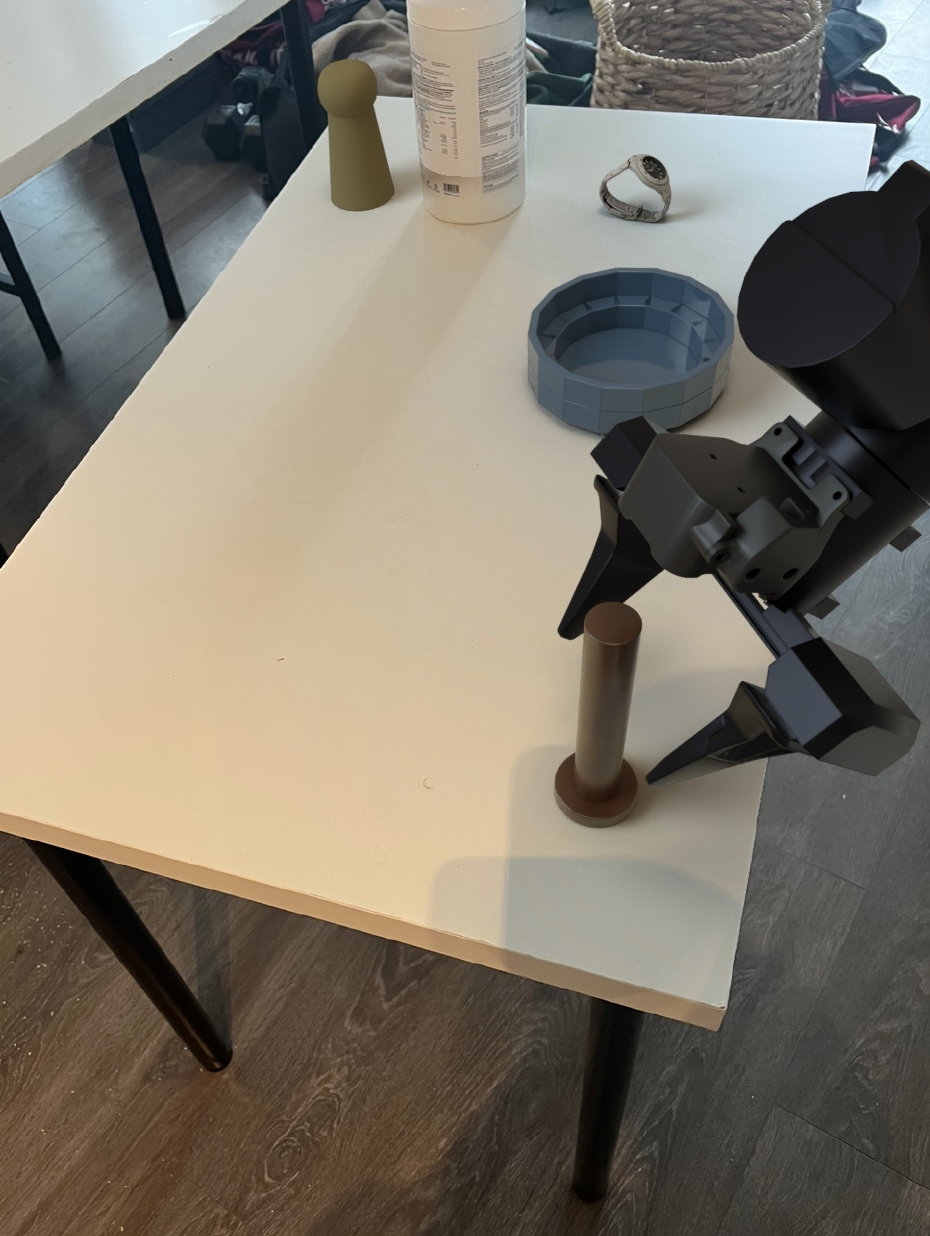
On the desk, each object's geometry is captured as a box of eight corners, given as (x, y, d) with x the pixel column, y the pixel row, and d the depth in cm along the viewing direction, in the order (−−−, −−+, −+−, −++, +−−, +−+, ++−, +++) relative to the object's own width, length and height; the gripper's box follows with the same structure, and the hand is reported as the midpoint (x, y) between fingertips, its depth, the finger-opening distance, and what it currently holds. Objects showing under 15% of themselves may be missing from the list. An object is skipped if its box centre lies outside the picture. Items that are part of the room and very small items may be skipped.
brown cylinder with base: (621, 749, 54) (645, 573, 42) (648, 817, 52) (682, 650, 40) (544, 767, 54) (548, 596, 42) (568, 836, 51) (578, 674, 40)
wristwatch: (662, 230, 83) (669, 171, 79) (593, 220, 85) (596, 162, 81) (674, 209, 85) (681, 150, 81) (606, 199, 87) (610, 141, 83)
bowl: (682, 305, 77) (689, 251, 73) (755, 416, 69) (768, 362, 65) (507, 342, 76) (506, 290, 73) (560, 459, 68) (562, 407, 64)
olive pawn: (320, 190, 93) (298, 64, 84) (377, 170, 94) (360, 43, 85) (347, 218, 90) (326, 89, 81) (405, 196, 91) (391, 67, 82)
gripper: (649, 244, 38) (414, 528, 46) (960, 560, 28) (587, 862, 35) (783, 358, 46) (562, 587, 53) (1070, 642, 35) (742, 878, 43)
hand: (604, 705), depth 46 cm, fingers open, 9 cm apart
